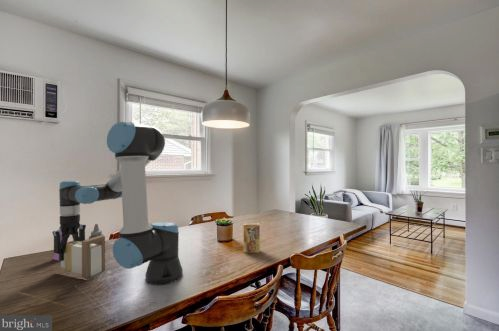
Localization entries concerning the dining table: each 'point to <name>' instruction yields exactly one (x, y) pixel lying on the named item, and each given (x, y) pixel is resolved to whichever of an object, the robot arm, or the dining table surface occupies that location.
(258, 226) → the candy box
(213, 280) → the dining table surface
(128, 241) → the robot arm
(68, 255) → the stub
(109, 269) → the mat
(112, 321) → the dining table surface
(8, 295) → the dining table surface
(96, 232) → the squeeze bottle
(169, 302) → the dining table surface
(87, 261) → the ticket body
